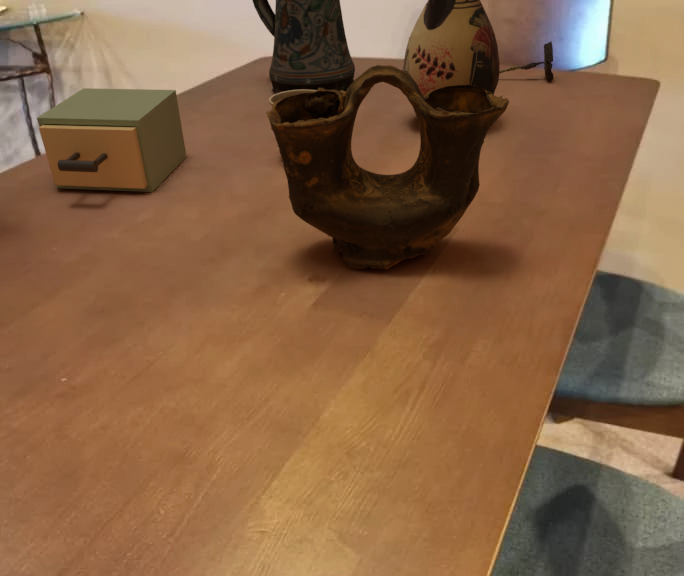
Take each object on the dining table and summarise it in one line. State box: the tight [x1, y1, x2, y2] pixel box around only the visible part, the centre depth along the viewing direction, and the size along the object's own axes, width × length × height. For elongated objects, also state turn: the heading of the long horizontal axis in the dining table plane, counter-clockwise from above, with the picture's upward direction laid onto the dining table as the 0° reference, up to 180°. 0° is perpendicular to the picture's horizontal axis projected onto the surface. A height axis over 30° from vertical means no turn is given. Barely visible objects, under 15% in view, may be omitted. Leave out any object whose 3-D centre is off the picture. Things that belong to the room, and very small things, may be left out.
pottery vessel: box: [266, 64, 510, 271], centre depth 79 cm, size 25×11×20 cm, turn 89°
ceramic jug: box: [402, 0, 501, 102], centre depth 111 cm, size 17×15×30 cm
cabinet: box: [36, 87, 187, 193], centre depth 105 cm, size 15×15×10 cm
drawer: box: [38, 124, 147, 189], centre depth 102 cm, size 18×13×8 cm
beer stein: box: [252, 0, 356, 94], centre depth 132 cm, size 16×19×25 cm
